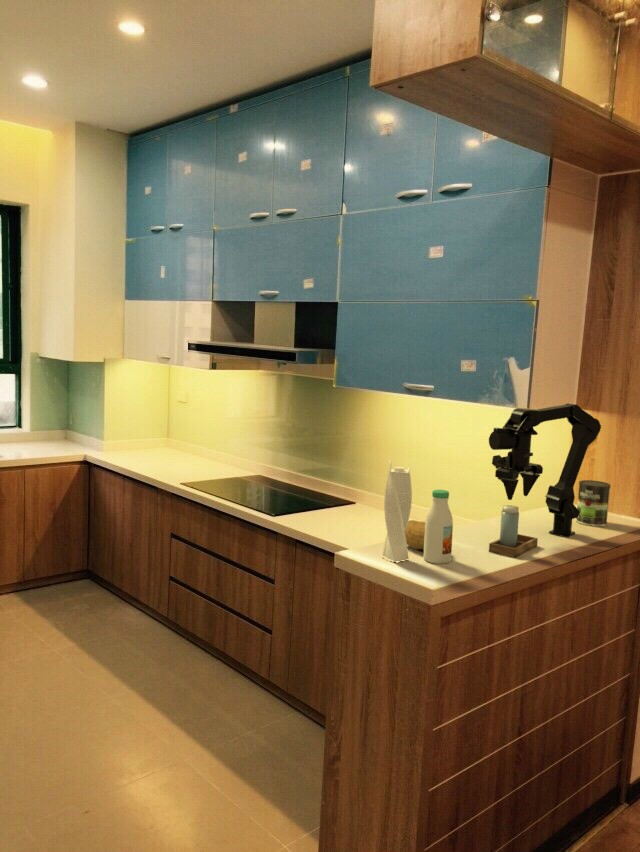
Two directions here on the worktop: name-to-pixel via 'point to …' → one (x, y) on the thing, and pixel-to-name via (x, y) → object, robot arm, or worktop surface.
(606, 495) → the coffee can
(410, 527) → the potato
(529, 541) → the caddy
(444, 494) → the milk bottle
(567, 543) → the worktop surface
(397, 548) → the skyscraper
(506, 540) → the salt shaker
